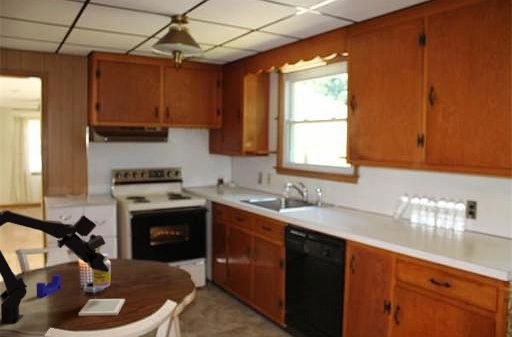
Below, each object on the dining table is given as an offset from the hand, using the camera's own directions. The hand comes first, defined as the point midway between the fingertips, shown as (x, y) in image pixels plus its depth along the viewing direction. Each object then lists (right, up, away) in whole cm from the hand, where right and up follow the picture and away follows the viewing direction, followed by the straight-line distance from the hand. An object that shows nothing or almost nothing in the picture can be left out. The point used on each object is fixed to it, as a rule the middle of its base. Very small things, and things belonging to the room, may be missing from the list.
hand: (105, 269), depth 175 cm
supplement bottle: (-1, -7, 0) cm, 7 cm away
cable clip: (-28, -12, +9) cm, 32 cm away
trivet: (+2, -14, -7) cm, 15 cm away
